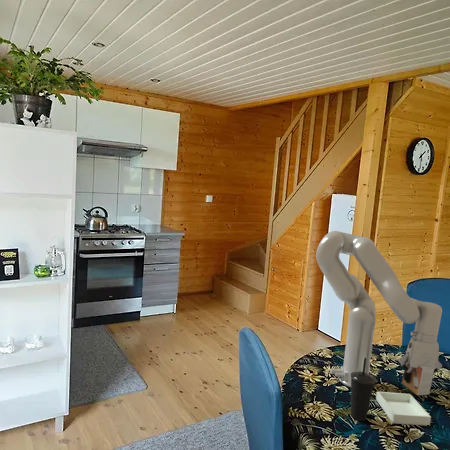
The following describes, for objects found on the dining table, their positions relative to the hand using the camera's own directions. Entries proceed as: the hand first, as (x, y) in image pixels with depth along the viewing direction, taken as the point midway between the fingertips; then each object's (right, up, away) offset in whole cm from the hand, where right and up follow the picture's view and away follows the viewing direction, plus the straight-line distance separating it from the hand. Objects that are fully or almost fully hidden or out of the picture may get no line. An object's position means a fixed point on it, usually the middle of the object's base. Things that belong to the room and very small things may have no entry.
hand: (416, 382), depth 147 cm
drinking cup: (-27, -5, -16) cm, 32 cm away
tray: (-11, -6, -11) cm, 17 cm away
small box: (0, -3, 0) cm, 3 cm away
